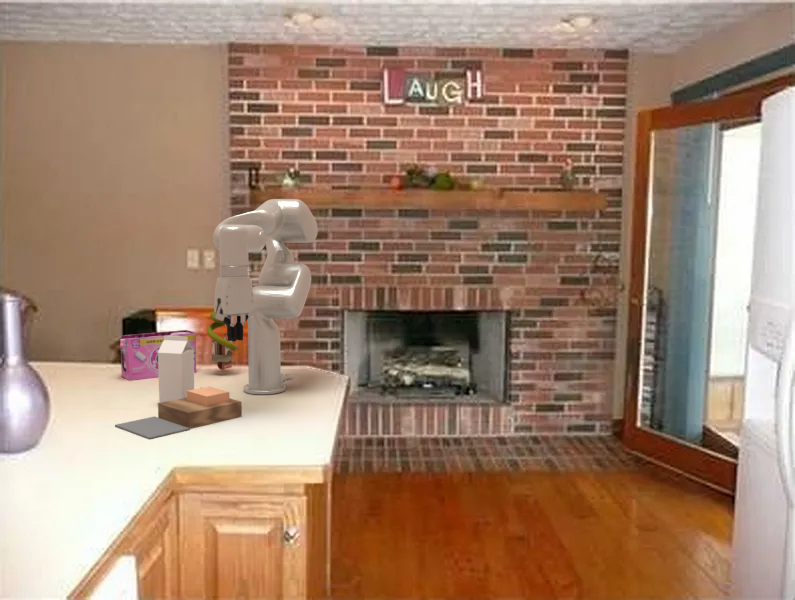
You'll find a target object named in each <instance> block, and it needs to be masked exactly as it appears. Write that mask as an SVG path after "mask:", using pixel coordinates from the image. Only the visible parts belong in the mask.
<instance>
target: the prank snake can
mask: <svg viewBox="0 0 795 600" xmlns="http://www.w3.org/2000/svg"><path fill="white" fill-rule="evenodd" d="M223 316H224V314H223ZM215 317H216V313H215V311H214V310H213V311H211V312H210V314H209V318H210V320H211V321H212V323H210V324H209V325H208V326H207V327H206V332H207V333H206V335H208V337H210V338H211V351H212V352H211V361H212V364H214V365H217V367H218V369H219V370H225V369H230V368H232V367H233V363H232V362H233V361H232V360H233V351H234V352H238V351H239V346H238V345H237V344H235V343H234V342H233V341H229V340H228V337H227V333H223V336H220V335H218V334H217V333H216V332H214V330H216V329H218V328H221V327H225V326H226V325H225V323H224V322H223V321H221V320H218V319H216V318H215Z"/></svg>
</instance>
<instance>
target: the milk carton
mask: <svg viewBox="0 0 795 600" xmlns="http://www.w3.org/2000/svg"><path fill="white" fill-rule="evenodd" d="M158 371H159V377H158V400H159V402H158V403H161V402H166V401H172V400H177V399H182V398H187V391H188V390H193V389H195V373H194V350H193V348H192V346H191V345H190V343H189V342H188V337H178V336H164V341H163V343H162V345H161V347H160V349H159V351H158Z"/></svg>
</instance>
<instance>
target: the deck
mask: <svg viewBox="0 0 795 600" xmlns="http://www.w3.org/2000/svg"><path fill="white" fill-rule="evenodd" d="M242 404H243V403H242V401H241V400H238V399H234V398H231V397H229V401H228V402H223V403H219V404H214V405H209V406H205V405H202V404H199V403H195V402H192V401H188V400H187V398H182V399H177V400H172V401H166V402H161V403H159V402H157V413H158V414H157V415H158V418H161V419H164V420H167V421H170V422H173V423H176V424H179V425H182V426H185V427H188V428H190V429H194V428H198V427H203V426H206V425H210V424H215V423H218V422H223V421H227V420H231V419H236V418H240V417H242V415H243V413H242V411H243V409H242V407H243V405H242Z"/></svg>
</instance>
